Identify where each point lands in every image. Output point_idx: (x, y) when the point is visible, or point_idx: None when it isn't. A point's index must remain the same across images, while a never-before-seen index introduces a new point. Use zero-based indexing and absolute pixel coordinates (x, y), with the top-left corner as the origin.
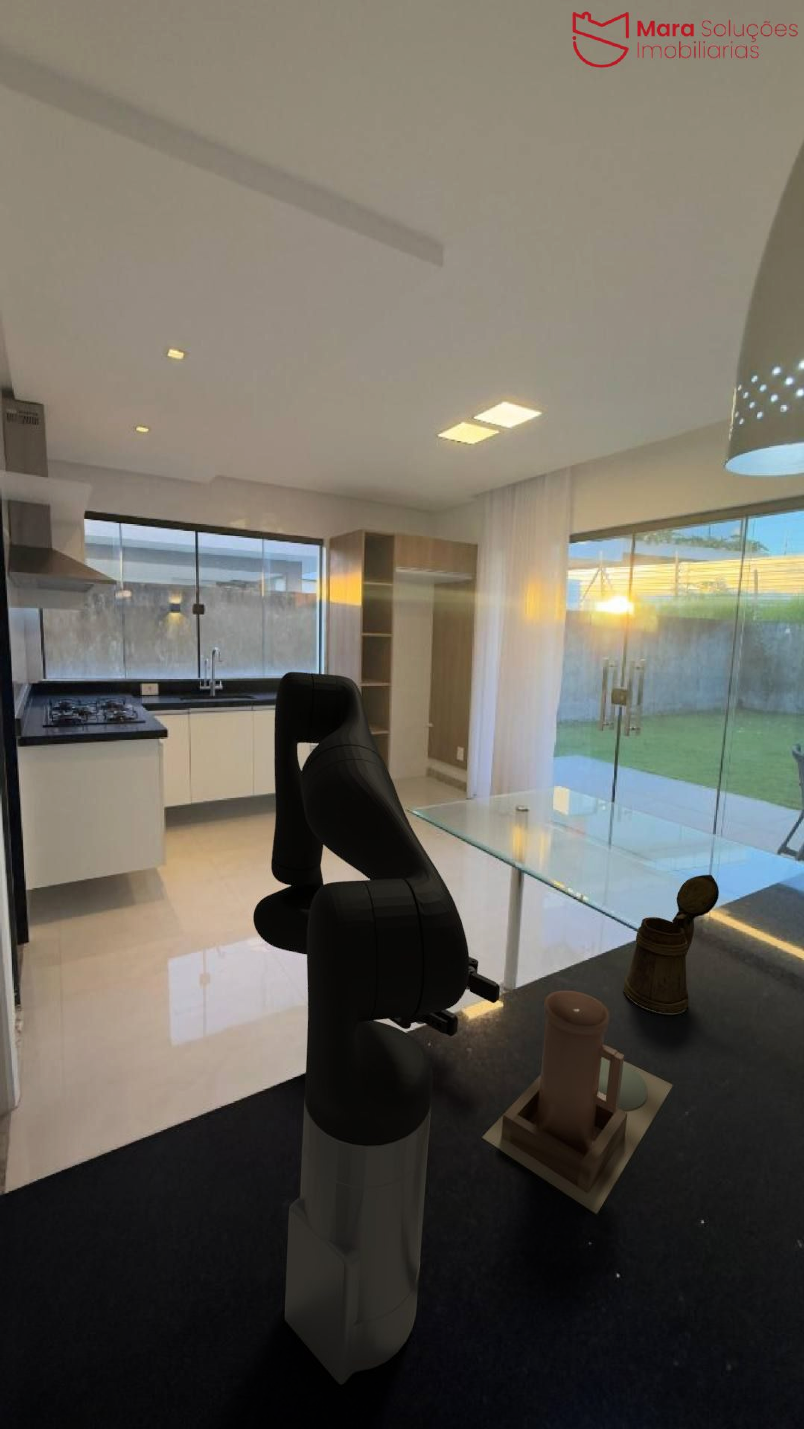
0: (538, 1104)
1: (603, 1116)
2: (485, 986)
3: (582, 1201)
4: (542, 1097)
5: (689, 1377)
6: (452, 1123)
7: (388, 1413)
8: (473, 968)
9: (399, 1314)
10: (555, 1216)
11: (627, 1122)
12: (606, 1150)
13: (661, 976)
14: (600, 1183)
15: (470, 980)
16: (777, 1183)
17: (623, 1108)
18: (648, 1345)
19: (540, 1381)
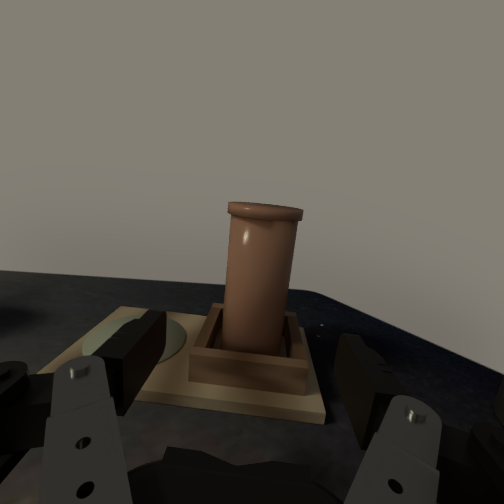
0: (268, 340)
1: (218, 320)
2: (151, 339)
3: (302, 334)
4: (279, 320)
5: (335, 306)
6: (331, 482)
7: None
8: (75, 359)
9: None
10: (322, 352)
11: (194, 322)
12: None
13: None
14: None
15: (124, 379)
16: (191, 285)
17: (179, 324)
18: (340, 315)
19: (411, 340)
